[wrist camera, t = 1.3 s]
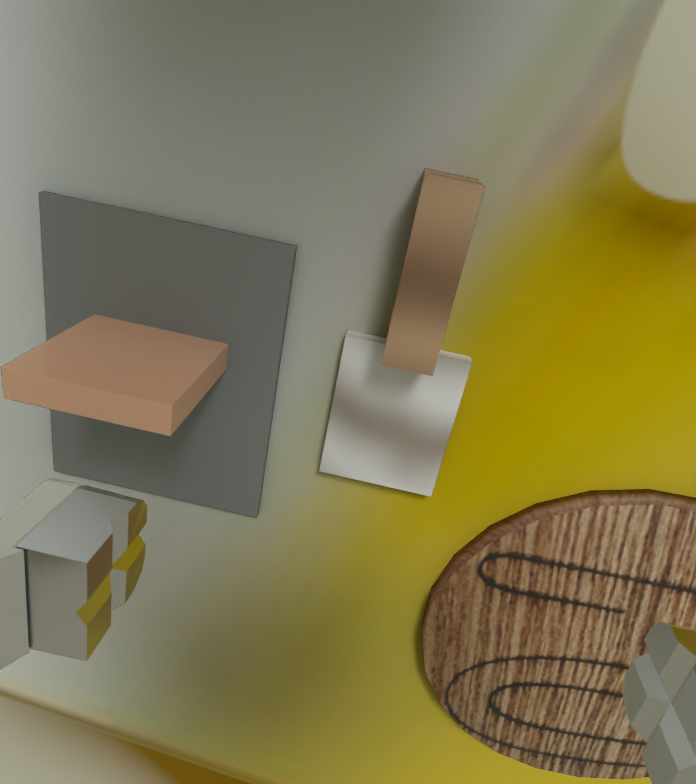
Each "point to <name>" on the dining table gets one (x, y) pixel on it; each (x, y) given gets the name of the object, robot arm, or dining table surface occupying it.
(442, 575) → the trivet
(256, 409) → the mat
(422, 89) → the dining table surface
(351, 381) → the turner
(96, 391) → the tile
